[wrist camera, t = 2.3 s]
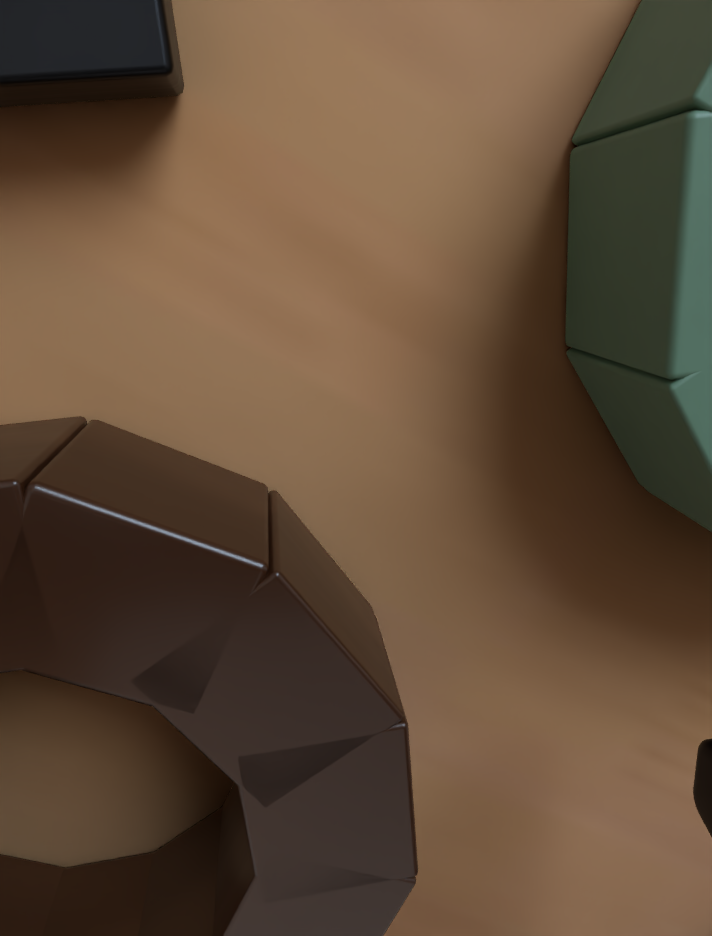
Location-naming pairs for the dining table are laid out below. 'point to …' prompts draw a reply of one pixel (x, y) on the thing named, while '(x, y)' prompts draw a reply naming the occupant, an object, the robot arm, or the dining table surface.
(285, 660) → the walnut ring
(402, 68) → the dining table surface
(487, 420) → the dining table surface
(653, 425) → the sage ring
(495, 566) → the dining table surface
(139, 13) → the peg stand
